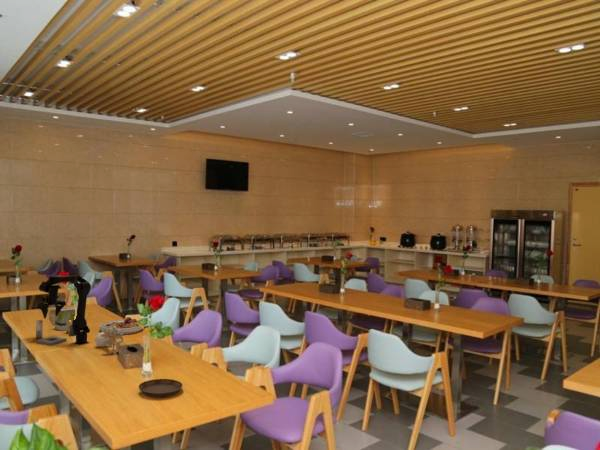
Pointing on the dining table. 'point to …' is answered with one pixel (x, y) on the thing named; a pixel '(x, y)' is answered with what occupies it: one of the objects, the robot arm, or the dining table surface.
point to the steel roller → (39, 329)
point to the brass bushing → (68, 326)
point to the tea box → (64, 317)
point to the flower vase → (109, 339)
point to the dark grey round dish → (51, 341)
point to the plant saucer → (160, 387)
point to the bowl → (122, 326)
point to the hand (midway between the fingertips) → (50, 317)
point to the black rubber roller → (71, 331)
